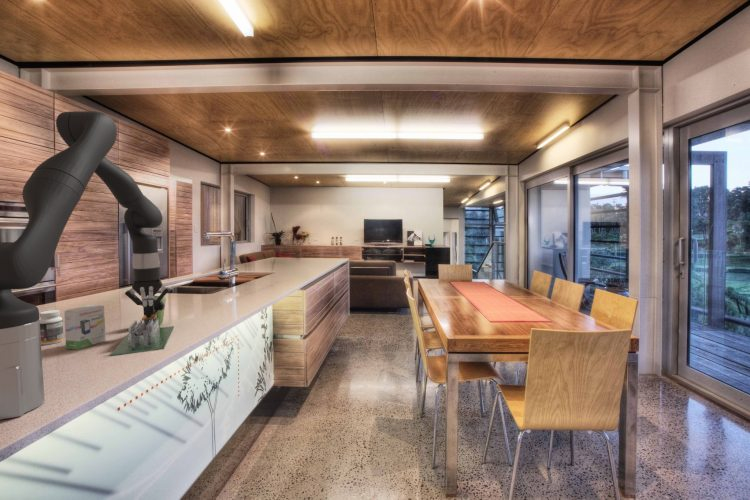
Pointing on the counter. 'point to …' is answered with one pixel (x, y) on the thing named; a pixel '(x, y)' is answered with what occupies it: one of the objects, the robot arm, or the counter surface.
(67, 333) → the ink box
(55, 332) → the pill bottle
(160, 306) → the beverage can
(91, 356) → the counter surface
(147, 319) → the grey and orange bar
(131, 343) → the heatsink board
